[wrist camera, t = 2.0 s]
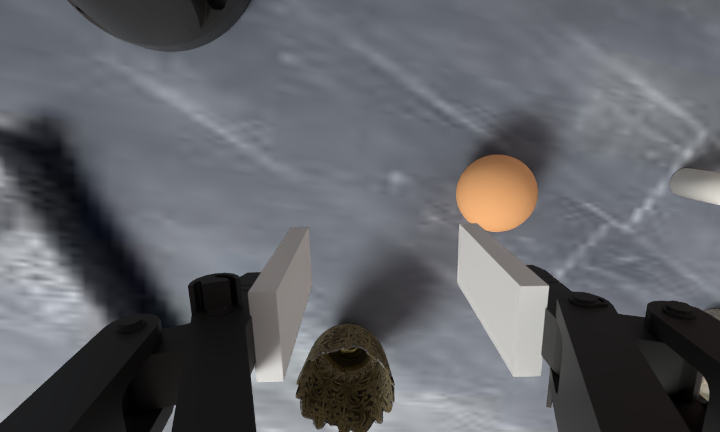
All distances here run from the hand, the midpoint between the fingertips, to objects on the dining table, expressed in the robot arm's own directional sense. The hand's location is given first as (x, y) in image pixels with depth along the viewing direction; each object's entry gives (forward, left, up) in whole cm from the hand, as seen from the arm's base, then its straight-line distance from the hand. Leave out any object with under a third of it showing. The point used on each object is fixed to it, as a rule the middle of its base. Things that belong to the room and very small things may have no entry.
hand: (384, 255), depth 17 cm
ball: (0, +10, -14) cm, 17 cm away
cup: (+14, -2, -17) cm, 22 cm away
